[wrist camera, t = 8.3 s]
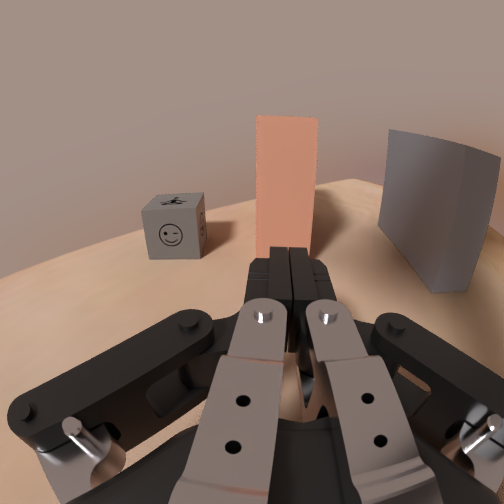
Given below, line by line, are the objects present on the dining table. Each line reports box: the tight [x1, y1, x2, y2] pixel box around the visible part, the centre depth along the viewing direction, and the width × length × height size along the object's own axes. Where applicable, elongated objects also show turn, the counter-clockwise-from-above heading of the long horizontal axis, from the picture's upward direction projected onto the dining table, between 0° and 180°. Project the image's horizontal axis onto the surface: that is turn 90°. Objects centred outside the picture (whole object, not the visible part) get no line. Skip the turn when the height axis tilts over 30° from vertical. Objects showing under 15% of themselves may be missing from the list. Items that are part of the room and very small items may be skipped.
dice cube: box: [141, 193, 207, 260], centre depth 26 cm, size 5×5×5 cm
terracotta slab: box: [256, 115, 318, 258], centre depth 27 cm, size 15×4×12 cm, turn 175°
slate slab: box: [378, 129, 501, 293], centre depth 23 cm, size 15×4×12 cm, turn 176°
